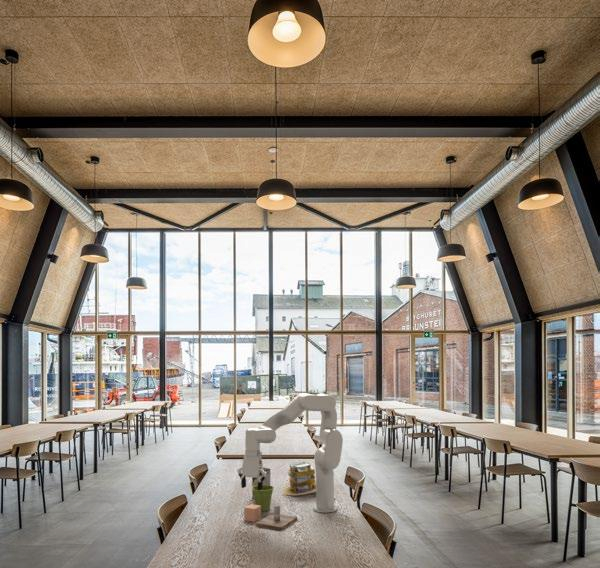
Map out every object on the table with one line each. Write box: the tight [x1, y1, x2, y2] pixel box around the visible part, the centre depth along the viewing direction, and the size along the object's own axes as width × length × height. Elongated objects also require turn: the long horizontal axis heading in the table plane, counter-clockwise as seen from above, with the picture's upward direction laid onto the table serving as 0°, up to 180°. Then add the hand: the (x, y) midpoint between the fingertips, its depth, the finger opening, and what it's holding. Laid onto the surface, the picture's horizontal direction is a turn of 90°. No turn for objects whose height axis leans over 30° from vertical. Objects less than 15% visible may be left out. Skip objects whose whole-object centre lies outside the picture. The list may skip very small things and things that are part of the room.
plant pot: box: [251, 484, 275, 512], centre depth 265 cm, size 12×12×11 cm
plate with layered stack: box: [283, 460, 316, 496], centre depth 299 cm, size 25×25×17 cm
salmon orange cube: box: [243, 503, 262, 523], centre depth 250 cm, size 6×6×6 cm
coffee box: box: [251, 467, 271, 499], centre depth 287 cm, size 9×6×16 cm
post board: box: [255, 504, 298, 532], centre depth 244 cm, size 16×14×8 cm
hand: (251, 488), depth 252 cm, fingers open, 9 cm apart
